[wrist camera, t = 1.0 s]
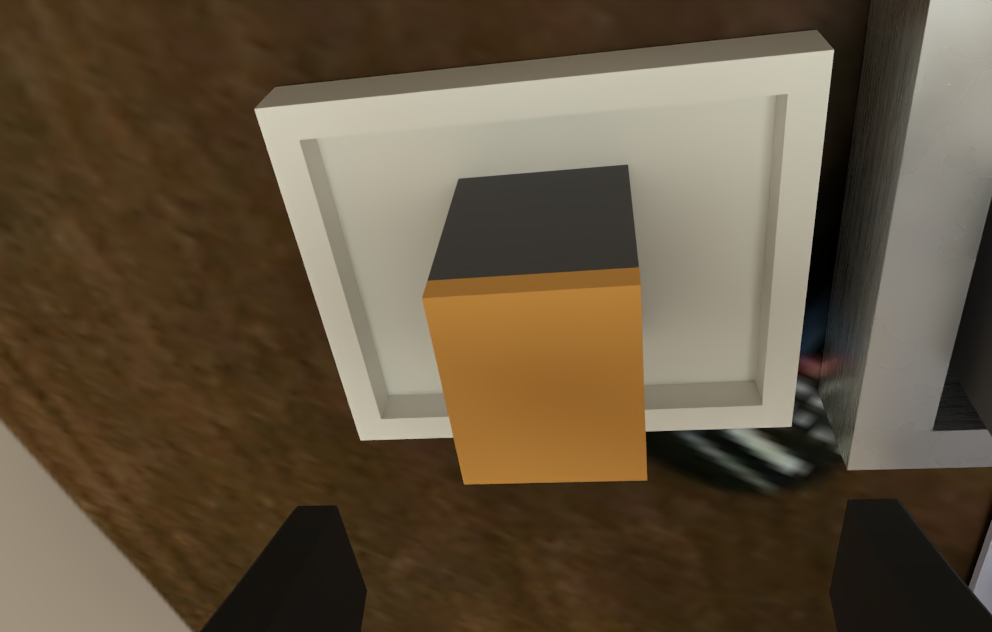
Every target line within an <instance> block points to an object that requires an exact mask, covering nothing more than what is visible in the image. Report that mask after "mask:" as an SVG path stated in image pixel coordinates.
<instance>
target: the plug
mask: <svg viewBox="0 0 992 632" xmlns="http://www.w3.org/2000/svg"><path fill="white" fill-rule="evenodd" d="M422 301H423V305H424V309H425V314H426V318H427V323H428V327H429V332H430V336H431V340H432V345H433V349H434V354H435V358H436V362H437V367H438V371H439V376H440V380H441V385H442V389H443V393H444V398H445V402H446V407H447V411H448V416H449V420H450V424H451V429H452V433H453V438H454V442H455V447H456V451H457V455H458V460H459V464H460V469H461V473H462V478H463V482H464V484H505V483H551V482H596V481H641V480H647V459H646V428H645V397H644V366H643V335H642V304H641V282H640V272H639V263H638V253H637V244H636V235H635V225H634V216H633V206H632V197H631V188H630V178H629V169H628V165H616V166H604V167H592V168H580V169H568V170H556V171H544V172H532V173H520V174H508V175H496V176H484V177H472V178H460V179H458V182H457V185H456V188H455V191H454V195H453V198H452V201H451V205H450V208H449V211H448V214H447V218H446V221H445V224H444V228H443V231H442V234H441V237H440V241H439V244H438V247H437V251H436V254H435V257H434V260H433V264H432V267H431V270H430V274H429V277H428V280H427V283H426V287H425V290H424V293H423V297H422Z"/></svg>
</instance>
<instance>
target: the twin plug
mask: <svg viewBox="0 0 992 632" xmlns="http://www.w3.org/2000/svg"><path fill="white" fill-rule="evenodd" d="M949 367H950V368H951V370H952V372H953V373H954V375H955V377H956V378H957V380H958V382H959V383H960V385H961V387H962V388H963V390H964V392H965V393H966V395H967V397H968V398H969V400H970V402H971V403H972V405H973V407H974V408H975V410H976V412H977V413H978V415H979V417H980V418H981V420H982V422H983V423H984V425H985V427H986V428H987V430H988V432H989V433H990V435H991V436H992V198H991V202H990V206H989V210H988V214H987V217H986V221H985V225H984V229H983V233H982V237H981V241H980V245H979V249H978V253H977V257H976V261H975V265H974V269H973V272H972V276H971V280H970V284H969V288H968V292H967V296H966V300H965V304H964V308H963V312H962V316H961V320H960V324H959V327H958V331H957V335H956V339H955V343H954V347H953V351H952V355H951V359H950V363H949Z"/></svg>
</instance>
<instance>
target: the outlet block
mask: <svg viewBox="0 0 992 632" xmlns="http://www.w3.org/2000/svg"><path fill="white" fill-rule="evenodd" d="M991 198H992V0H871V1H870V8H869V16H868V23H867V31H866V38H865V45H864V53H863V60H862V68H861V75H860V83H859V90H858V97H857V105H856V112H855V120H854V127H853V134H852V142H851V149H850V157H849V164H848V172H847V179H846V186H845V194H844V201H843V209H842V216H841V224H840V231H839V238H838V246H837V253H836V261H835V268H834V275H833V283H832V290H831V298H830V305H829V313H828V320H827V327H826V335H825V342H824V350H823V357H822V365H821V372H820V379H819V387H818V392H819V395H820V398H821V400H822V403H823V406H824V409H825V411H826V414H827V417H828V419H829V422H830V425H831V427H832V430H833V433H834V436H835V438H836V441H837V444H838V446H839V449H840V452H841V454H842V457H843V460H844V463H845V465H846V468H847V470H875V469H918V468H961V467H992V436H991V435H990V433H989V432H988V430H987V428H986V427H985V425H984V423H983V422H982V420H981V418H980V417H979V415H978V413H977V412H976V410H975V408H974V407H973V405H972V403H971V402H970V400H969V398H968V397H967V395H966V393H965V392H964V390H963V388H962V387H961V385H960V383H959V382H958V380H957V378H956V377H955V375H954V373H953V372H952V370H951V368H950V367H949V363H950V359H951V355H952V351H953V347H954V343H955V339H956V335H957V331H958V327H959V324H960V320H961V316H962V312H963V308H964V304H965V300H966V296H967V292H968V288H969V284H970V280H971V276H972V272H973V269H974V265H975V261H976V257H977V253H978V249H979V245H980V241H981V237H982V233H983V229H984V225H985V221H986V217H987V214H988V210H989V206H990V202H991Z"/></svg>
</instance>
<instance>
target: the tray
mask: <svg viewBox="0 0 992 632" xmlns="http://www.w3.org/2000/svg"><path fill="white" fill-rule="evenodd" d="M833 55H834V49H833V48H832V47H831V46H830V45H829V43H828V42H827V41H826V40H825V39H824V38H823V36H822V35H821V34H820V33H819V32H818V31H817V30H809V31H799V32H790V33H780V34H771V35H761V36H752V37H743V38H733V39H724V40H714V41H705V42H695V43H686V44H676V45H667V46H658V47H648V48H639V49H629V50H620V51H610V52H601V53H592V54H582V55H573V56H563V57H554V58H544V59H535V60H525V61H516V62H507V63H497V64H488V65H478V66H469V67H459V68H450V69H441V70H431V71H422V72H412V73H403V74H393V75H384V76H374V77H365V78H356V79H346V80H337V81H327V82H318V83H308V84H299V85H289V86H280V87H275V88H274V89H273V90H272V91H271V92H270V93H269V94H268V95H267V96H266V97H265V98H264V99H263V100H262V101H261V102H260V103H259V104H258V105H257V106H256V108H255V109H254V110H255V113H256V116H257V119H258V122H259V125H260V128H261V131H262V135H263V138H264V141H265V144H266V147H267V150H268V153H269V156H270V159H271V163H272V166H273V169H274V172H275V175H276V178H277V181H278V184H279V188H280V191H281V194H282V197H283V200H284V203H285V206H286V209H287V213H288V216H289V219H290V222H291V225H292V228H293V231H294V234H295V237H296V241H297V244H298V247H299V250H300V253H301V256H302V259H303V262H304V266H305V269H306V272H307V275H308V278H309V281H310V284H311V287H312V291H313V294H314V297H315V300H316V303H317V306H318V309H319V312H320V315H321V319H322V322H323V325H324V328H325V331H326V334H327V337H328V340H329V344H330V347H331V350H332V353H333V356H334V359H335V362H336V365H337V369H338V372H339V375H340V378H341V381H342V384H343V387H344V390H345V393H346V397H347V400H348V403H349V406H350V409H351V412H352V415H353V418H354V422H355V425H356V428H357V431H358V434H359V437H360V440H389V439H421V438H452V437H453V433H452V429H451V424H450V420H449V416H448V411H447V407H446V402H445V398H444V393H443V389H442V385H441V380H440V376H439V371H438V367H437V362H436V358H435V354H434V349H433V345H432V340H431V336H430V332H429V327H428V323H427V318H426V314H425V309H424V305H423V301H422V297H423V293H424V290H425V287H426V283H427V280H428V277H429V274H430V270H431V267H432V264H433V260H434V257H435V254H436V251H437V247H438V244H439V241H440V237H441V234H442V231H443V228H444V224H445V221H446V218H447V214H448V211H449V208H450V205H451V201H452V198H453V195H454V191H455V188H456V185H457V182H458V179H460V178H472V177H484V176H496V175H508V174H520V173H532V172H544V171H556V170H568V169H580V168H592V167H604V166H616V165H628V169H629V178H630V188H631V197H632V206H633V216H634V225H635V235H636V244H637V253H638V263H639V272H640V282H641V304H642V335H643V366H644V397H645V428H646V431H674V430H706V429H737V428H769V427H791V426H792V417H793V408H794V399H795V391H796V382H797V373H798V364H799V355H800V346H801V338H802V329H803V320H804V311H805V302H806V293H807V285H808V276H809V267H810V258H811V249H812V240H813V232H814V223H815V214H816V205H817V196H818V187H819V179H820V170H821V161H822V152H823V143H824V134H825V125H826V117H827V108H828V99H829V90H830V81H831V72H832V64H833Z"/></svg>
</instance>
